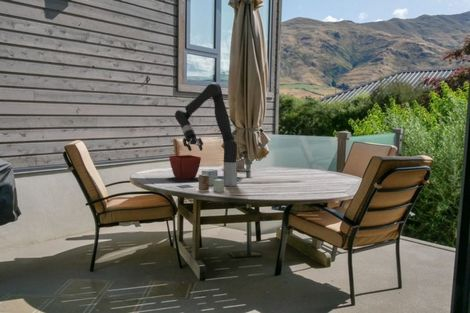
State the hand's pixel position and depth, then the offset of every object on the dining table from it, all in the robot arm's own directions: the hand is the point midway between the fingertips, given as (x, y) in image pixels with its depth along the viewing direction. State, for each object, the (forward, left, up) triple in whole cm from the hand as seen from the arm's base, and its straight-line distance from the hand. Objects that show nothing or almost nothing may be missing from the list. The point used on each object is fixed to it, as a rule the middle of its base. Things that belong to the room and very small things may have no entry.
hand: (196, 150), depth 298 cm
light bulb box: (-15, -7, -27) cm, 31 cm away
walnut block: (0, +11, -26) cm, 28 cm away
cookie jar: (-77, -67, -27) cm, 105 cm away
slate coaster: (+6, -5, -26) cm, 27 cm away
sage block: (-7, +19, -26) cm, 34 cm away
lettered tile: (0, +11, -26) cm, 29 cm away
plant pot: (-13, -43, -27) cm, 52 cm away
